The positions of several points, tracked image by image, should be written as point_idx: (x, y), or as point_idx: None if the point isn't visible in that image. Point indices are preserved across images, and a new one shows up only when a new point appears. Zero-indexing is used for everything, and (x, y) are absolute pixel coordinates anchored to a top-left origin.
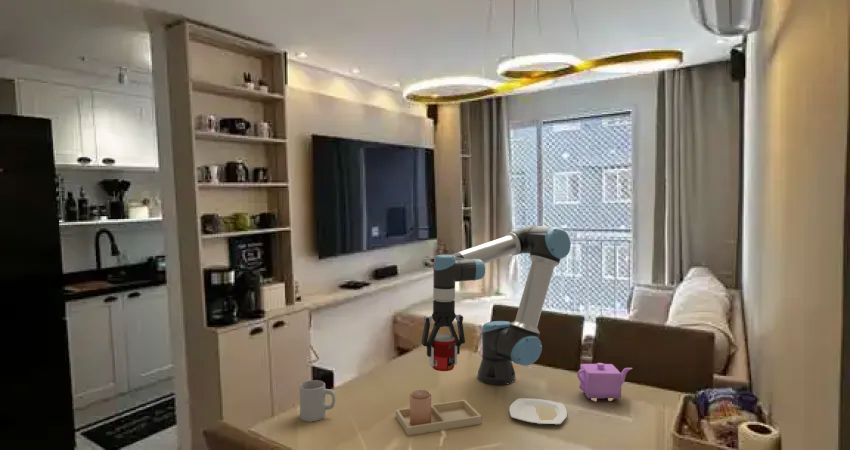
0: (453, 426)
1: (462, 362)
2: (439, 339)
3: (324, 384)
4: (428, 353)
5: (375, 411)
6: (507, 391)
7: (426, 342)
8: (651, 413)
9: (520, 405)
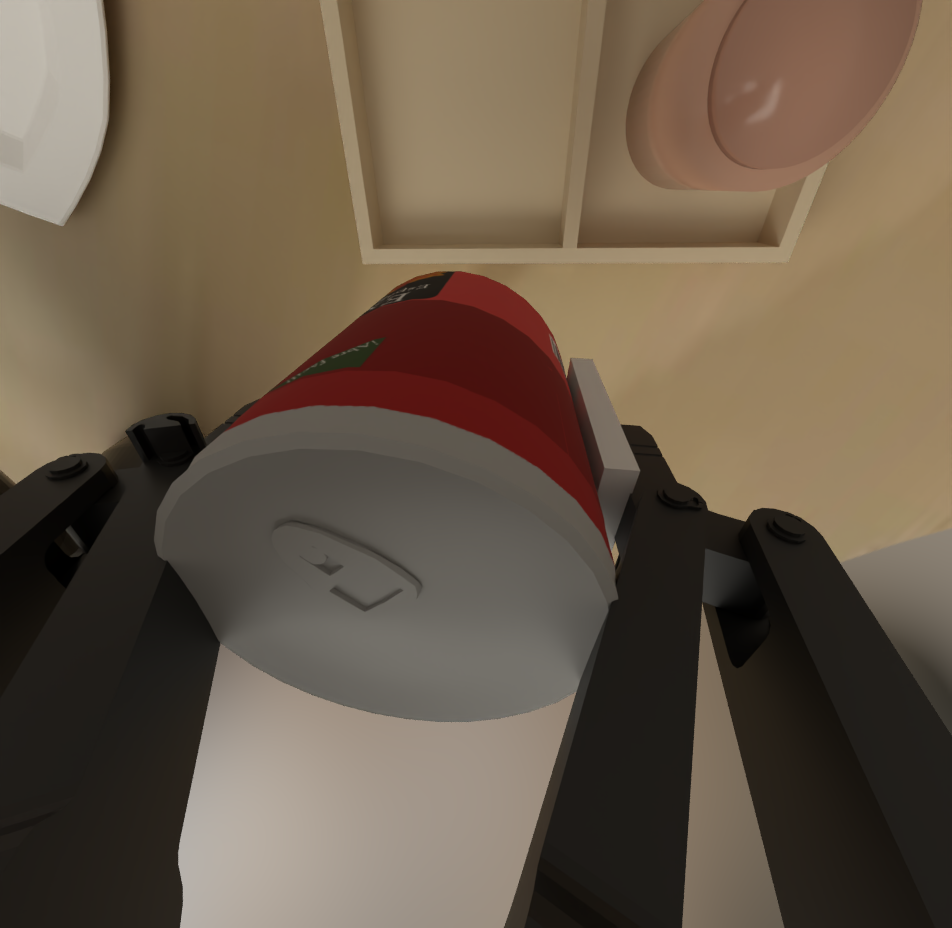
0: None
1: None
2: (550, 519)
3: None
4: (648, 448)
5: (791, 368)
6: (144, 369)
7: (778, 557)
8: None
9: (42, 123)
